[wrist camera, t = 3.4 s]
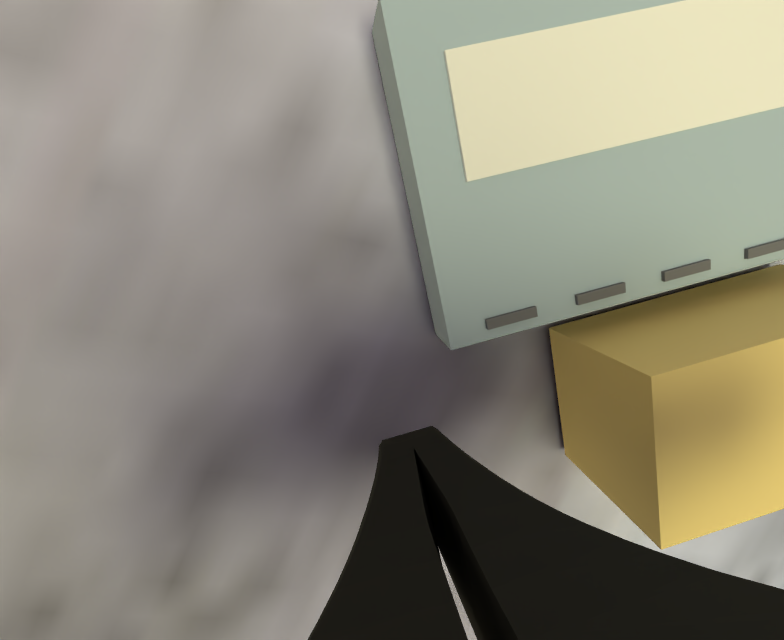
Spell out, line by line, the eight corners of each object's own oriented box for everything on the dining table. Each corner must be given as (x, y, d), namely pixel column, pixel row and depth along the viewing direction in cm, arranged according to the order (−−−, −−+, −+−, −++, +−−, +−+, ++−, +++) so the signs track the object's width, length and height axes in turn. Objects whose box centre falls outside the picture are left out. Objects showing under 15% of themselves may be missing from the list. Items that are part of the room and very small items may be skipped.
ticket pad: (435, 333, 10) (452, 351, 9) (372, 32, 8) (379, -8, 7) (893, 210, 11) (974, 208, 10) (925, -80, 10) (1030, -133, 8)
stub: (565, 454, 12) (664, 553, 8) (549, 327, 10) (655, 378, 7) (775, 390, 12) (952, 456, 9) (779, 264, 11) (983, 282, 8)
